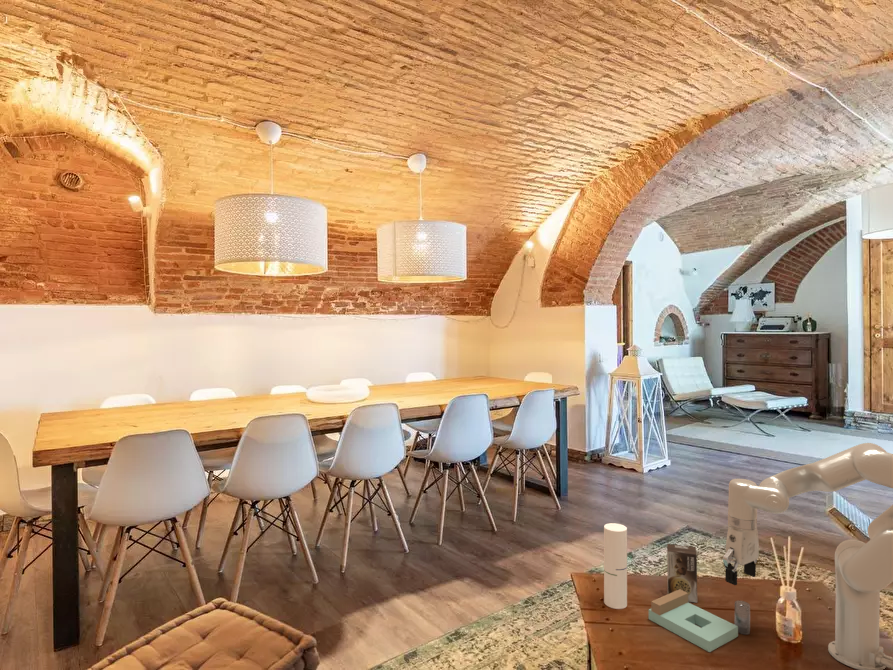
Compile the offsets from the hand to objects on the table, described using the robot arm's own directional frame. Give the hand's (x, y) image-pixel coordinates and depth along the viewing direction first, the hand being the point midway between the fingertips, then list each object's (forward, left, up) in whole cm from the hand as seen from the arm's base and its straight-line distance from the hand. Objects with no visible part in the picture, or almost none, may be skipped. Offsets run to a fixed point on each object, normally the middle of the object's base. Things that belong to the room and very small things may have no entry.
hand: (740, 579), depth 161 cm
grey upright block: (0, 0, -15) cm, 15 cm away
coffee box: (+22, -3, -16) cm, 27 cm away
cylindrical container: (+31, +19, -16) cm, 39 cm away
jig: (+9, +11, -15) cm, 21 cm away
